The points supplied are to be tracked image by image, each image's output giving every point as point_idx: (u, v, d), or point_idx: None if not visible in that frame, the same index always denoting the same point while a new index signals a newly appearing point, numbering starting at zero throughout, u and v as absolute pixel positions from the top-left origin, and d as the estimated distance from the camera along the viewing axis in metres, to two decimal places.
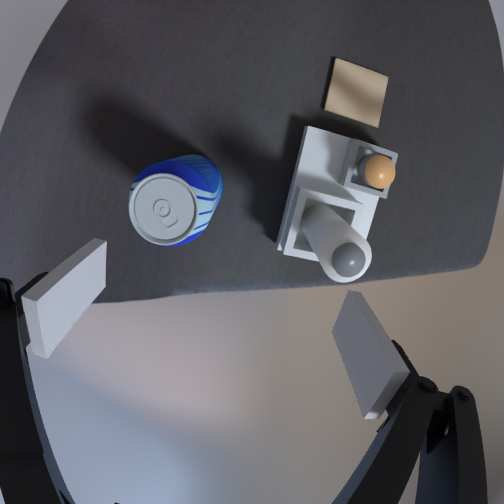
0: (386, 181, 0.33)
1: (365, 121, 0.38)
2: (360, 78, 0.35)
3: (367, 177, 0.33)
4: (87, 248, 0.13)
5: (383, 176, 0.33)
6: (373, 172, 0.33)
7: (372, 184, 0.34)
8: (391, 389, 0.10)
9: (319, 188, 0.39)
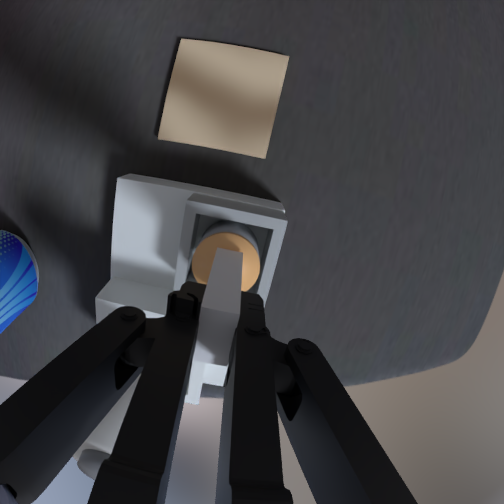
0: (241, 284, 0.18)
1: (238, 150, 0.21)
2: (227, 67, 0.19)
3: (198, 278, 0.18)
4: (220, 257, 0.16)
5: None
6: (209, 268, 0.18)
7: None
8: (226, 332, 0.12)
9: (150, 283, 0.23)
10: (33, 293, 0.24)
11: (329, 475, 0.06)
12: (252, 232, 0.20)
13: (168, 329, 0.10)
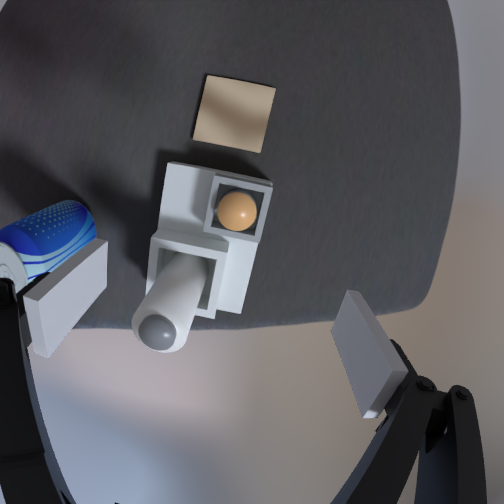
0: (245, 222, 0.32)
1: (243, 147, 0.34)
2: (237, 95, 0.32)
3: (220, 219, 0.32)
4: (89, 248, 0.13)
5: (240, 216, 0.32)
6: (227, 213, 0.31)
7: (227, 226, 0.32)
8: (389, 388, 0.10)
9: (185, 231, 0.36)
10: None
11: (436, 501, 0.05)
12: None
13: None
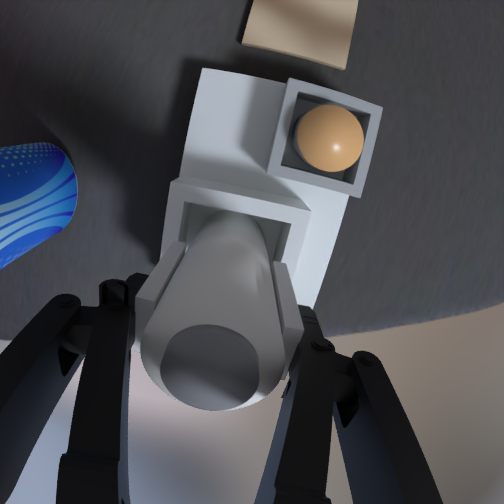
0: (346, 158, 0.17)
1: (320, 58, 0.19)
2: None
3: (303, 149, 0.17)
4: (173, 250, 0.16)
5: (338, 146, 0.17)
6: (316, 139, 0.17)
7: (315, 163, 0.17)
8: (288, 347, 0.12)
9: (227, 181, 0.21)
10: (70, 211, 0.22)
11: (372, 480, 0.06)
12: None
13: (103, 319, 0.09)
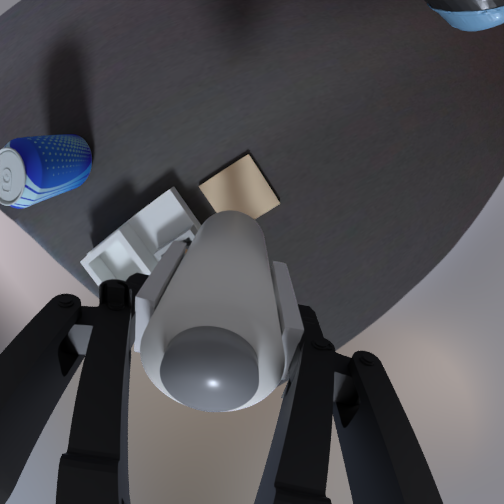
0: None
1: None
2: (252, 185, 0.41)
3: None
4: (173, 250, 0.16)
5: None
6: None
7: None
8: (288, 347, 0.12)
9: (142, 239, 0.41)
10: (74, 188, 0.39)
11: (372, 480, 0.06)
12: None
13: (103, 319, 0.09)
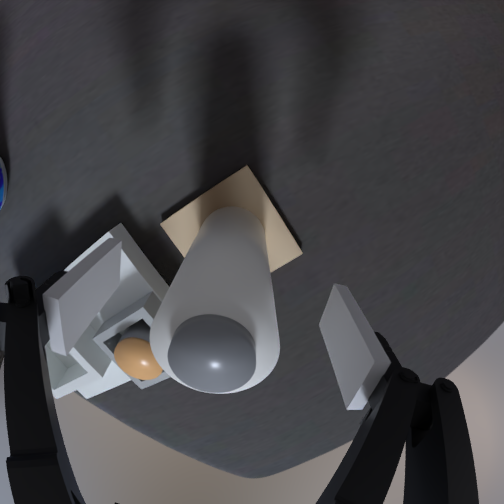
0: (139, 374, 0.22)
1: None
2: None
3: (115, 352, 0.21)
4: (104, 247, 0.14)
5: (139, 367, 0.21)
6: (127, 354, 0.21)
7: (118, 363, 0.21)
8: (372, 380, 0.10)
9: None
10: None
11: (425, 496, 0.06)
12: None
13: (13, 318, 0.08)
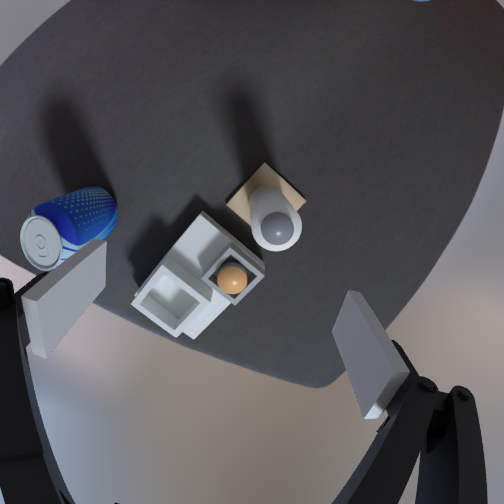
0: (234, 290, 0.42)
1: None
2: None
3: (218, 279, 0.41)
4: (87, 248, 0.13)
5: (233, 285, 0.41)
6: (225, 278, 0.41)
7: (220, 286, 0.42)
8: (391, 389, 0.10)
9: (185, 268, 0.44)
10: (106, 236, 0.43)
11: (436, 501, 0.05)
12: None
13: None
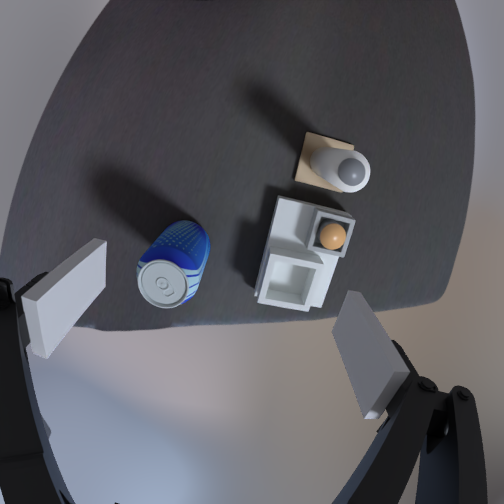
0: (338, 244, 0.45)
1: (330, 188, 0.48)
2: None
3: (322, 241, 0.45)
4: (87, 248, 0.13)
5: (335, 240, 0.45)
6: (327, 237, 0.45)
7: (326, 246, 0.45)
8: (391, 389, 0.10)
9: (288, 248, 0.49)
10: None
11: (436, 501, 0.05)
12: None
13: None
